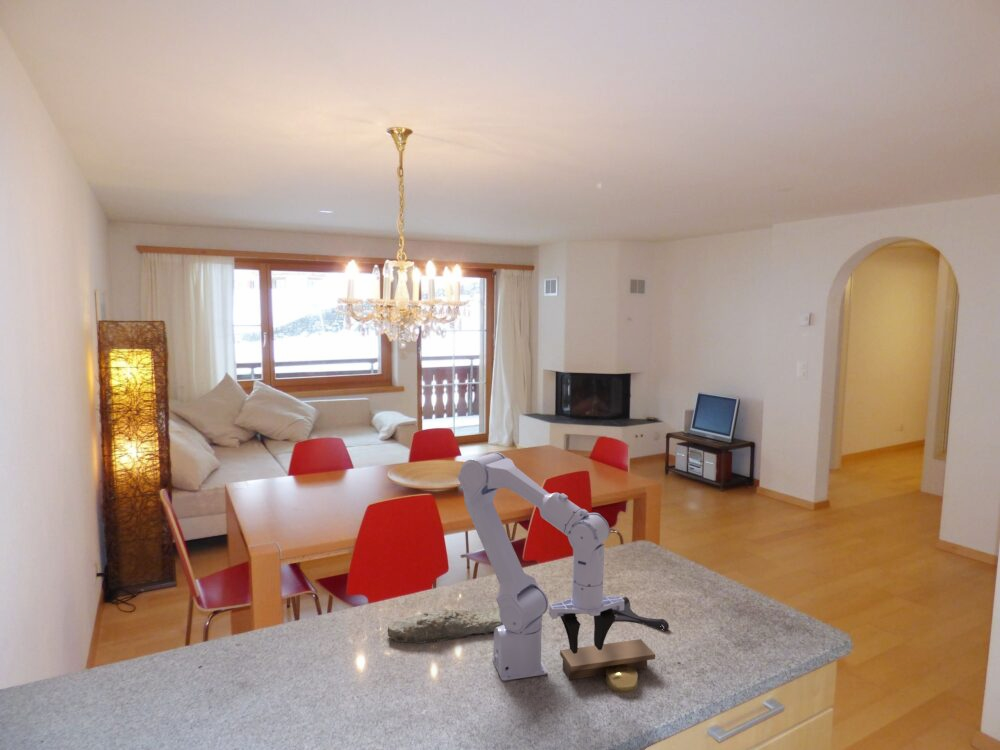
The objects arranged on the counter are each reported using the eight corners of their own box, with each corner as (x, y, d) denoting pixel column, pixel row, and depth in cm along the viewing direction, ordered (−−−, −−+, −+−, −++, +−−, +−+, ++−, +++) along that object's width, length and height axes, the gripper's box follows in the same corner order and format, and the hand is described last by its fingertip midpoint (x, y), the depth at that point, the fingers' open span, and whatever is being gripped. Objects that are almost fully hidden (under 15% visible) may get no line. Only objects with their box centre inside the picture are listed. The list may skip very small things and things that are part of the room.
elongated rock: (544, 636, 140) (530, 618, 150) (545, 613, 140) (531, 597, 150) (389, 650, 130) (384, 629, 140) (391, 625, 130) (385, 606, 140)
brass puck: (614, 695, 117) (614, 683, 116) (600, 677, 122) (601, 665, 122) (642, 691, 118) (643, 678, 118) (628, 673, 124) (628, 661, 124)
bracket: (654, 646, 135) (654, 634, 135) (594, 624, 144) (594, 613, 144) (679, 621, 146) (680, 610, 146) (623, 602, 156) (623, 592, 155)
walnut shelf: (570, 686, 119) (571, 666, 119) (559, 668, 125) (560, 650, 124) (654, 673, 124) (655, 654, 123) (639, 657, 130) (640, 639, 129)
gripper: (559, 593, 110) (557, 665, 111) (633, 585, 114) (630, 655, 115) (545, 577, 116) (544, 645, 118) (615, 569, 120) (613, 636, 122)
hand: (585, 648), depth 117 cm, fingers open, 4 cm apart
